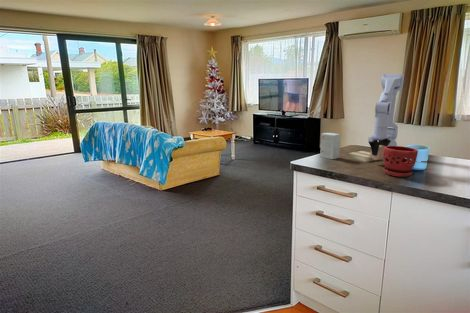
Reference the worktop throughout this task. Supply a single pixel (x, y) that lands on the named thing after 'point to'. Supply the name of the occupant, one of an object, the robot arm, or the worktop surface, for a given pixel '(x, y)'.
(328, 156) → the small box
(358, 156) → the beige shallow dish
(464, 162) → the worktop surface
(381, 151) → the clay block
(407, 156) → the plant pot
